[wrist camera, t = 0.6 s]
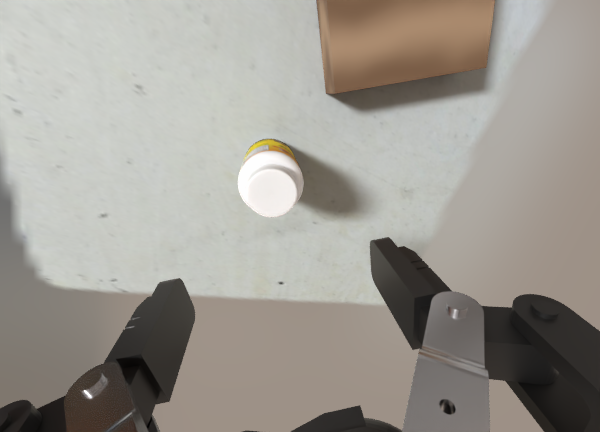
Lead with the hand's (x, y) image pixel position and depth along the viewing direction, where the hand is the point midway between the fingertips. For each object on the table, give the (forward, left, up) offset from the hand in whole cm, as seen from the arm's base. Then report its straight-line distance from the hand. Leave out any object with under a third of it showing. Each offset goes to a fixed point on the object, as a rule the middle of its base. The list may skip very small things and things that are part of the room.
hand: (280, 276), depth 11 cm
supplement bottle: (0, 0, -21) cm, 21 cm away
